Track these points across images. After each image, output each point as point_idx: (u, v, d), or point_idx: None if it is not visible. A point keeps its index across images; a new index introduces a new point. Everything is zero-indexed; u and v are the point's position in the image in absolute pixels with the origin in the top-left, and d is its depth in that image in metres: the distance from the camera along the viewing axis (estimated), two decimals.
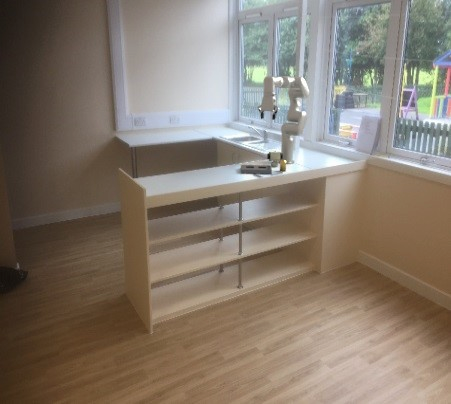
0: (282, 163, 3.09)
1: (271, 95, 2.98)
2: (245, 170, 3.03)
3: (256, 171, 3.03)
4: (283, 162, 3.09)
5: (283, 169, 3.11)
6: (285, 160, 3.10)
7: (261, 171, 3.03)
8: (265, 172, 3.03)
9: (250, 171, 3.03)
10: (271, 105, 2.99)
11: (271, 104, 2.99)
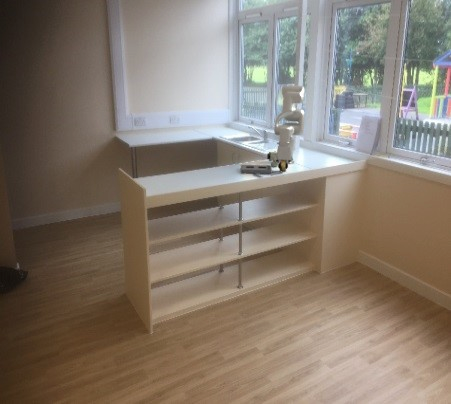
0: (282, 163, 3.09)
1: None
2: (245, 170, 3.03)
3: (256, 171, 3.03)
4: (283, 162, 3.09)
5: (283, 169, 3.11)
6: (285, 160, 3.10)
7: (261, 171, 3.03)
8: (265, 172, 3.03)
9: (250, 171, 3.03)
10: None
11: None
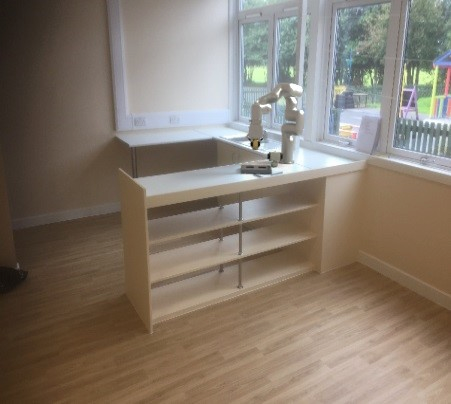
0: (254, 141, 3.02)
1: None
2: (245, 170, 3.03)
3: (256, 171, 3.03)
4: (255, 140, 3.02)
5: (255, 147, 3.04)
6: (257, 138, 3.04)
7: (261, 171, 3.03)
8: (265, 172, 3.03)
9: (250, 171, 3.03)
10: None
11: None
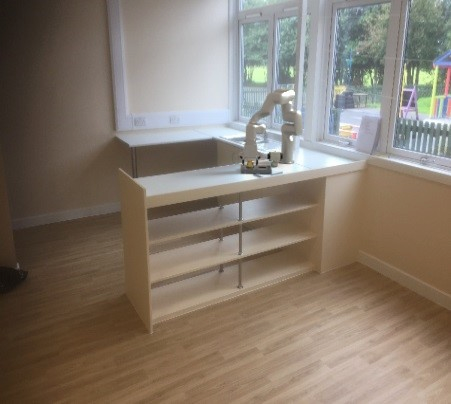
0: (249, 163, 3.07)
1: None
2: (245, 170, 3.03)
3: (256, 171, 3.03)
4: (250, 162, 3.07)
5: None
6: (252, 160, 3.08)
7: (261, 171, 3.03)
8: (265, 172, 3.03)
9: (250, 171, 3.03)
10: None
11: None
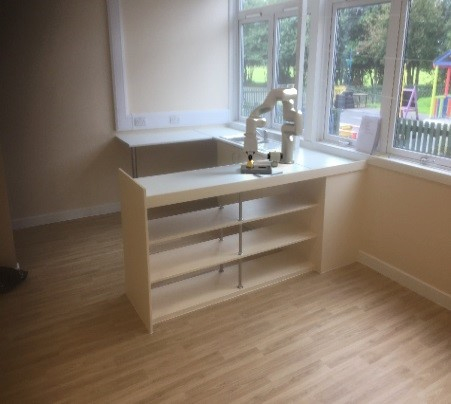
0: (249, 163, 3.07)
1: None
2: (245, 170, 3.03)
3: (256, 171, 3.03)
4: (250, 162, 3.07)
5: None
6: (252, 160, 3.08)
7: (261, 171, 3.03)
8: (265, 172, 3.03)
9: (250, 171, 3.03)
10: None
11: None
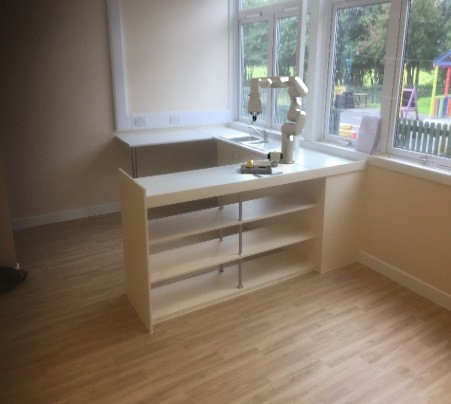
0: (249, 163, 3.07)
1: None
2: (245, 170, 3.03)
3: (256, 171, 3.03)
4: (250, 162, 3.07)
5: None
6: (252, 160, 3.08)
7: (261, 171, 3.03)
8: (265, 172, 3.03)
9: (250, 171, 3.03)
10: None
11: None
